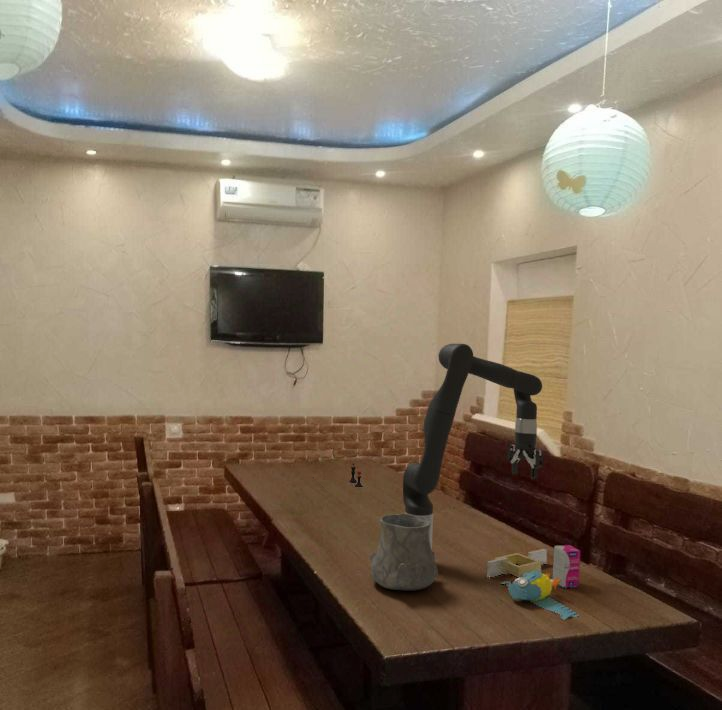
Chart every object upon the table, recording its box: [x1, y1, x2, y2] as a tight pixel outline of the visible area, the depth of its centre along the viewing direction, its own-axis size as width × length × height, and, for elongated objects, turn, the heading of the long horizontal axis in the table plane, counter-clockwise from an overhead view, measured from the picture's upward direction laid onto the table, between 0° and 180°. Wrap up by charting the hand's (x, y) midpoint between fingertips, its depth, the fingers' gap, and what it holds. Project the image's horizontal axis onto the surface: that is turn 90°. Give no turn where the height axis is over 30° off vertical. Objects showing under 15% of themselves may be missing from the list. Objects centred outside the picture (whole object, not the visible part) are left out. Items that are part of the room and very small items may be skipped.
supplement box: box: [552, 544, 581, 589], centre depth 198 cm, size 6×6×12 cm
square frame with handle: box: [486, 548, 548, 579], centre depth 209 cm, size 26×10×5 cm, turn 123°
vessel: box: [370, 513, 439, 591], centre depth 194 cm, size 22×22×20 cm
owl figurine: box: [501, 570, 580, 621], centre depth 185 cm, size 28×9×15 cm
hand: (524, 476), depth 229 cm, fingers open, 8 cm apart
